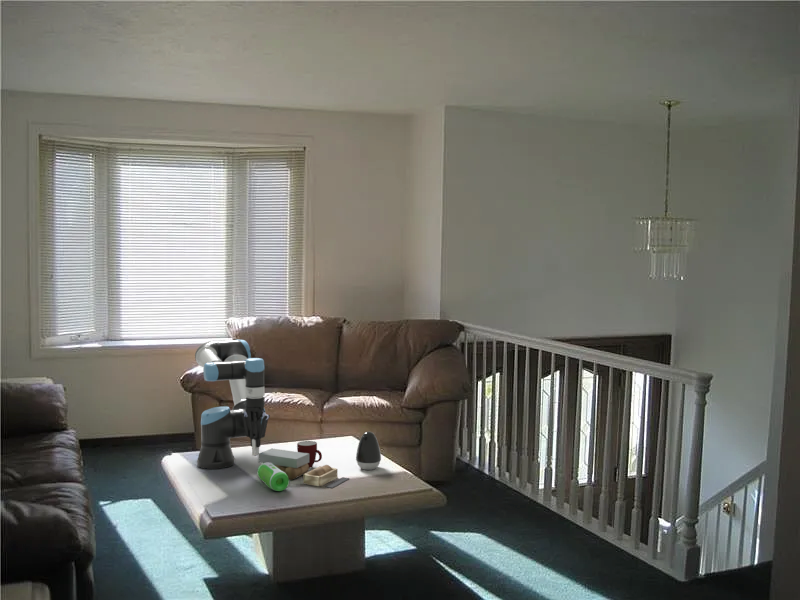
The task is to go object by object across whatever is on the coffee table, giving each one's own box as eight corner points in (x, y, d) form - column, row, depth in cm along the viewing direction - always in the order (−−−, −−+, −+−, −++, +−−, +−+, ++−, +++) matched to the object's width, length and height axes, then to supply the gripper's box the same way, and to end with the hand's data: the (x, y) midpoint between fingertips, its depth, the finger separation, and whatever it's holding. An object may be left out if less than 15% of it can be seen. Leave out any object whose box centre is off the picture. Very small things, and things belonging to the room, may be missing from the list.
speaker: (256, 481, 285) (256, 462, 284) (274, 478, 288) (274, 459, 288) (271, 494, 269) (271, 473, 269) (290, 491, 273) (290, 471, 272)
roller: (307, 483, 282) (307, 470, 282) (321, 476, 291) (321, 464, 291) (319, 485, 280) (318, 472, 280) (332, 478, 289) (332, 465, 289)
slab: (258, 462, 292) (258, 453, 292) (271, 456, 300) (271, 448, 300) (296, 468, 284) (296, 459, 284) (309, 462, 293) (309, 453, 292)
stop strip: (325, 487, 277) (325, 486, 277) (342, 477, 289) (342, 477, 289) (332, 488, 276) (332, 487, 276) (349, 478, 287) (349, 478, 287)
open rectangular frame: (302, 483, 281) (302, 474, 281) (320, 474, 293) (320, 465, 293) (320, 486, 278) (320, 477, 278) (338, 477, 290) (338, 468, 289)
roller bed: (258, 475, 292) (258, 462, 292) (273, 468, 301) (273, 456, 301) (295, 481, 285) (294, 468, 284) (309, 474, 294) (309, 461, 293)
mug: (325, 465, 306) (325, 441, 305) (319, 470, 298) (319, 446, 297) (301, 463, 308) (301, 440, 308) (294, 469, 300) (294, 445, 300)
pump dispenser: (351, 470, 299) (351, 433, 298) (362, 463, 309) (362, 427, 308) (374, 473, 295) (374, 435, 294) (384, 466, 305) (384, 430, 304)
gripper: (236, 397, 296) (236, 455, 298) (262, 399, 291) (263, 458, 292) (247, 394, 303) (248, 450, 304) (273, 396, 297) (274, 454, 299)
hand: (255, 454), depth 298 cm, fingers closed
